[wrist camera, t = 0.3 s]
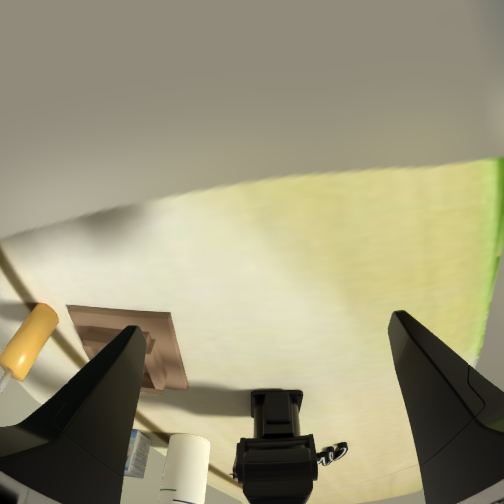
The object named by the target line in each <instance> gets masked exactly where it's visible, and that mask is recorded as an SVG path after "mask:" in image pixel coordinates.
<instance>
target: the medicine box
mask: <svg viewBox="0 0 504 504" xmlns="http://www.w3.org/2000/svg"><path fill="white" fill-rule="evenodd" d="M150 444H151V440H150V439H149V438H147V437H146V436H145V435H144V434H142V433H141V432H140V431H139V430H132V432H131V438H130V443H129V448H128V454H127V460H126V466H125V472H124V476H129V477H136V478H143V477H144V472H145V467H146V463H147V458H148V453H149V448H150Z"/></svg>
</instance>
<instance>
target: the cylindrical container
mask: <svg viewBox="0 0 504 504" xmlns="http://www.w3.org/2000/svg"><path fill="white" fill-rule="evenodd" d="M209 453H210V442H209V441H207V440H206V439H204V438H202V437H199V436H196V435H192V434H184V433H178V434H173V435H171V436H170V440H169V445H168V450H167V455H166V461H165V466H164V472H163V477H162V483H161V488H160V494H159V500H158V504H204V500H205V491H206V481H207V472H208V462H209Z"/></svg>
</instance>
